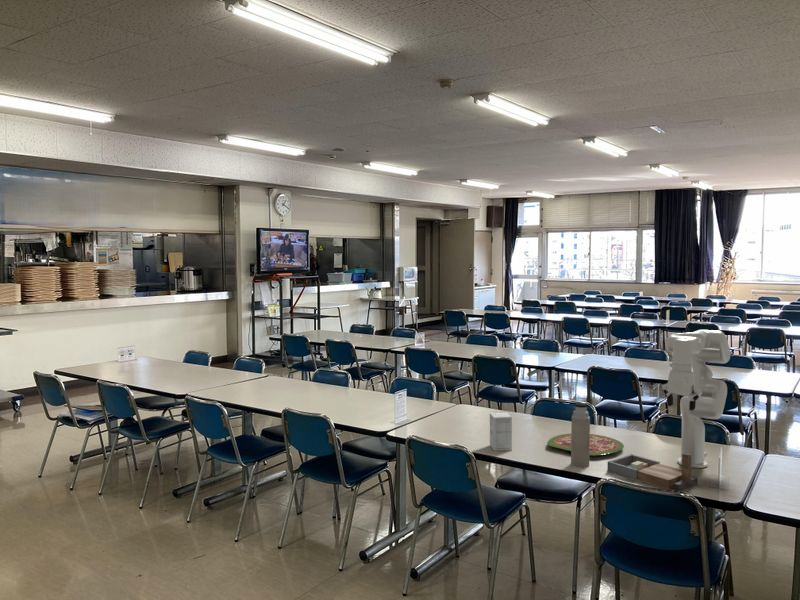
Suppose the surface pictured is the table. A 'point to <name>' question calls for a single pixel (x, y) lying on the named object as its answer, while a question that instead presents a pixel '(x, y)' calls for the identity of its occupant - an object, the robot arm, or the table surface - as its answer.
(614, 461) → the box
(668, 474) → the tan flat block
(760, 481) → the table surface
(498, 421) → the supplement box
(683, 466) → the scraper
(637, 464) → the sage tile
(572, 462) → the thermos bottle
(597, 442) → the pizza
